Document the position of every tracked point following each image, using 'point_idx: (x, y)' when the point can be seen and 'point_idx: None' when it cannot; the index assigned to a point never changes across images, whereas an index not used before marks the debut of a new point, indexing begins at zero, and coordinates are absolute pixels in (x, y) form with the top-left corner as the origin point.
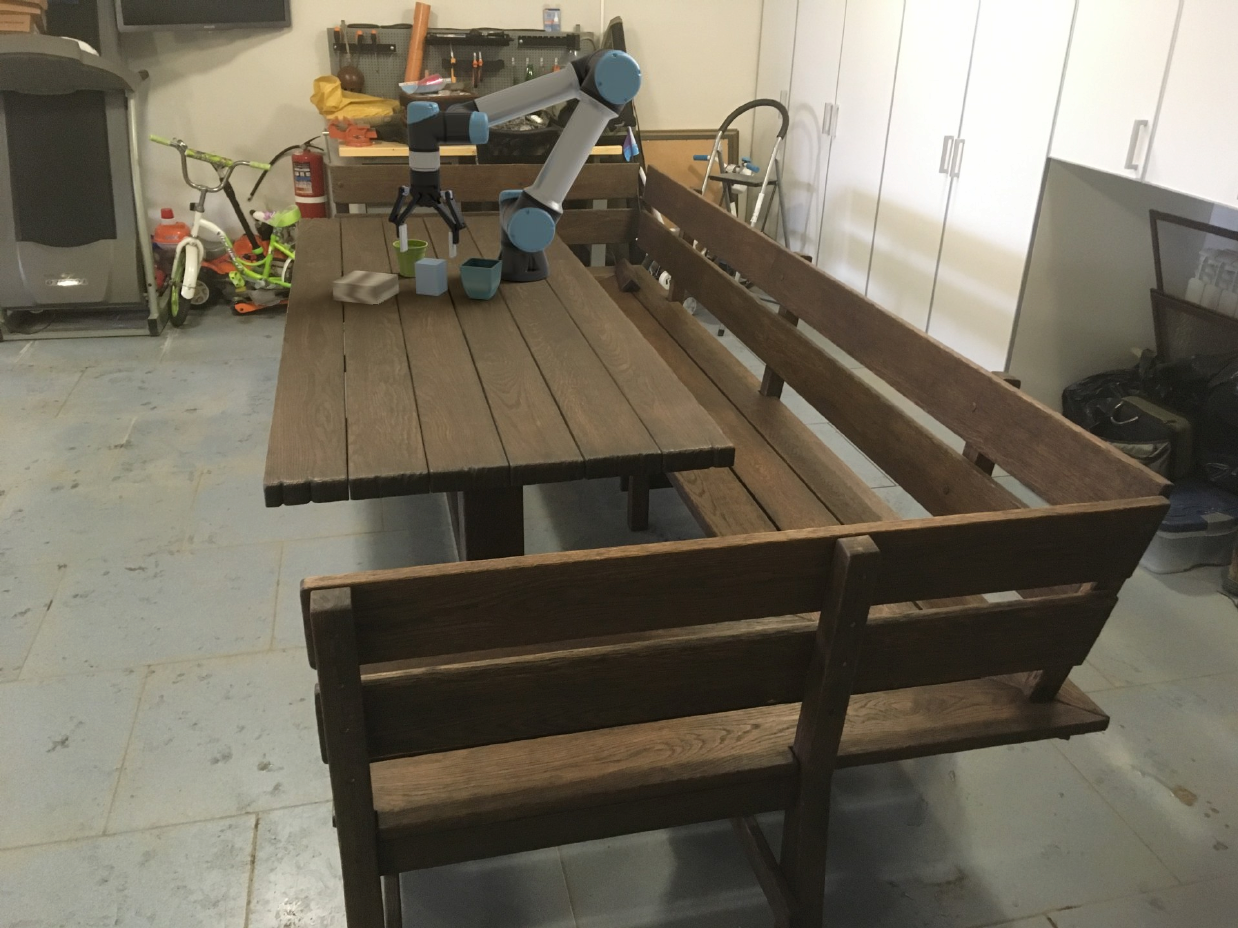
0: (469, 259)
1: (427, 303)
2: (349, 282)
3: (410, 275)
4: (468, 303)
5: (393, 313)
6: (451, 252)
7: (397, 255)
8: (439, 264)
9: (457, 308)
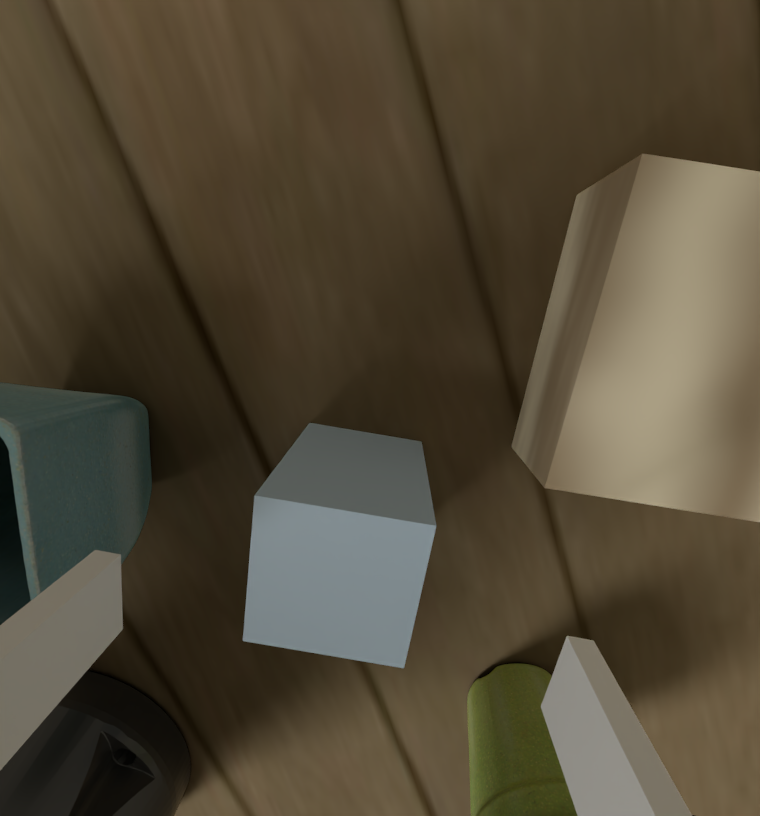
0: None
1: (317, 284)
2: None
3: (513, 670)
4: (123, 327)
5: (445, 35)
6: (56, 585)
7: None
8: (252, 542)
9: (139, 226)
